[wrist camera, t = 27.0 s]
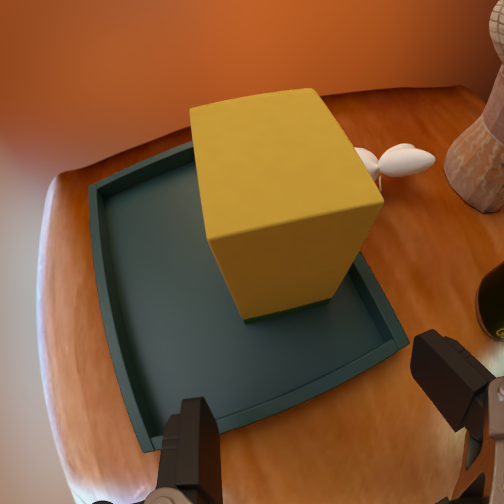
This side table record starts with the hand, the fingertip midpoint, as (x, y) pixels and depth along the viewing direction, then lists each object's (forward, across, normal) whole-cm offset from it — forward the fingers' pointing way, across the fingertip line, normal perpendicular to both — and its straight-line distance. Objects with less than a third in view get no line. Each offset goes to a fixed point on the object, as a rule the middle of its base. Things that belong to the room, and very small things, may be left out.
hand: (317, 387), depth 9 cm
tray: (+10, +3, -2) cm, 11 cm away
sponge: (+9, 0, -1) cm, 9 cm away
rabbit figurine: (+13, -10, -4) cm, 16 cm away
